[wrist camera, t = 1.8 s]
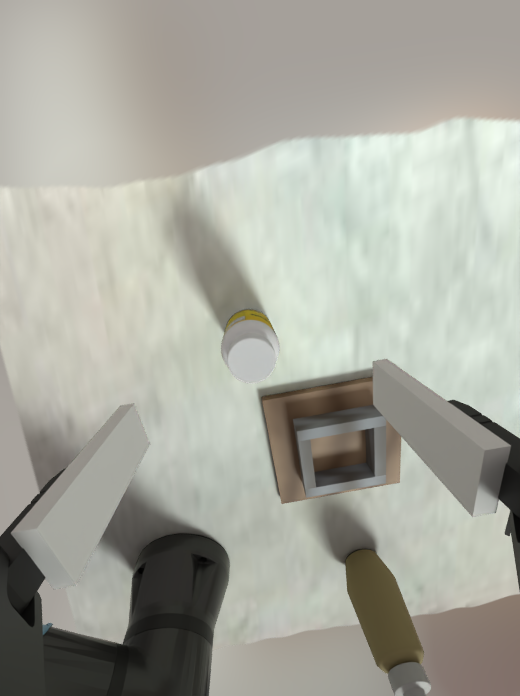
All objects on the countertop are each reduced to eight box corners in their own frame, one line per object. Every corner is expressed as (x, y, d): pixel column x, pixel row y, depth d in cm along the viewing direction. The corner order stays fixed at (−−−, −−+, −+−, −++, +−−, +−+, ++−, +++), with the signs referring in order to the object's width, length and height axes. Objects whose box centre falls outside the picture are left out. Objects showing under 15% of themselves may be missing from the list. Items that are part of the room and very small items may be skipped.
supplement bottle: (280, 334, 29) (297, 367, 20) (244, 360, 30) (245, 403, 21) (253, 298, 28) (258, 315, 18) (216, 326, 29) (203, 356, 19)
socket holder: (280, 497, 38) (284, 520, 35) (261, 396, 32) (263, 412, 29) (395, 476, 38) (410, 497, 35) (398, 372, 32) (416, 384, 29)
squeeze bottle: (333, 552, 43) (392, 742, 26) (378, 537, 42) (467, 722, 25) (345, 578, 45) (405, 767, 28) (387, 565, 45) (474, 749, 28)
